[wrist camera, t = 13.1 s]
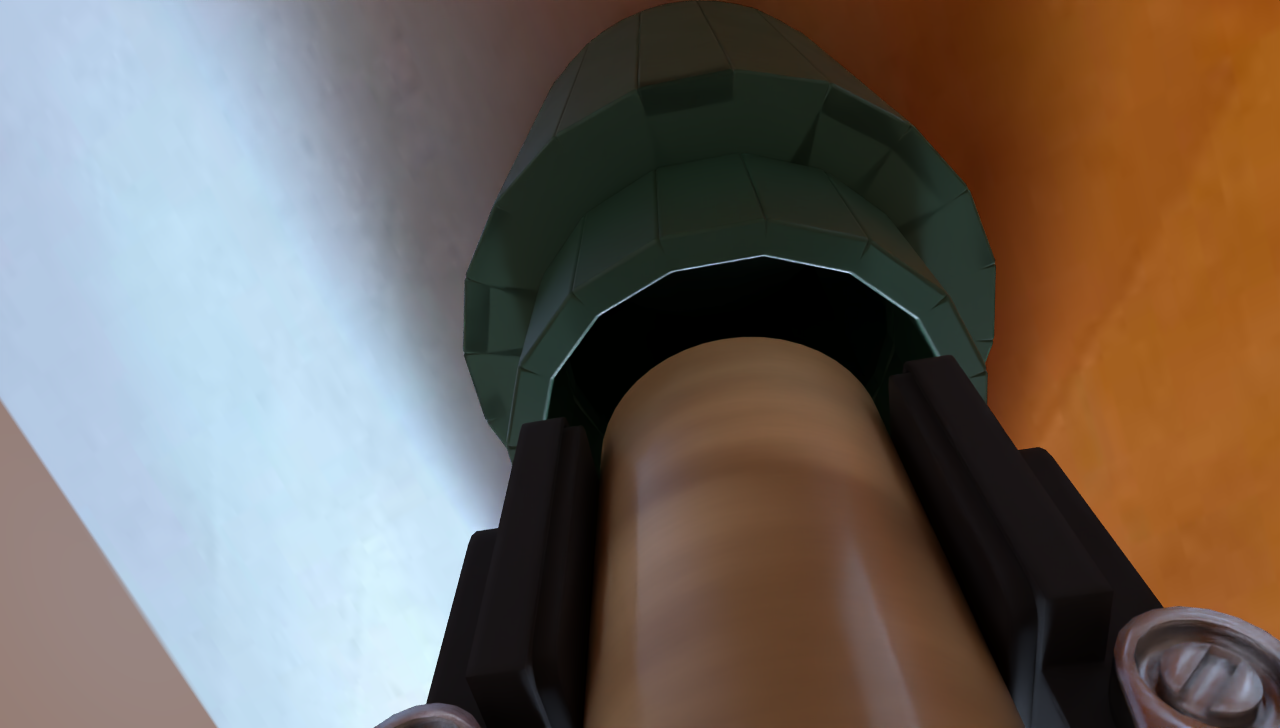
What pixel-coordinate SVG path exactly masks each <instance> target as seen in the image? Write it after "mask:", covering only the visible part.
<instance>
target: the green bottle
mask: <svg viewBox="0 0 1280 728" xmlns="http://www.w3.org/2000/svg"><path fill="white" fill-rule="evenodd" d="M995 279H996V265H995V258H994V256H993V253H992V250H991V247H990V245H989V242H988V239H987V236H986V234H985V231H984V228H983V225H982V222H981V220H980V217H979V214H978V211H977V209H976V206H975V203H974V200H973V198H972V195H971V192H970V190H969V189H968V188H967V185H966V184H965V183H964V181H963V180H962V179H961V178H960V177H959V176H958V175H957V174H956V172H955V171H954V170H953V169H952V168H951V167H950V166H949V165H948V163H947V162H946V161H945V160H944V159H943V158H942V157H941V156H940V154H939V153H938V152H937V151H936V150H935V149H934V148H933V147H932V145H931V144H930V143H929V142H928V141H927V140H926V139H925V138H924V136H923V135H922V134H921V133H920V132H919V131H918V130H917V129H916V127H915V126H914V125H912V124H911V123H910V122H909V121H908V120H906V119H905V118H904V117H903V116H901V115H900V114H899V113H898V112H897V111H895V110H894V109H893V108H892V107H891V106H889V105H888V104H887V103H886V102H885V101H883V100H882V99H881V98H880V97H879V96H877V95H876V94H875V93H874V92H873V91H871V90H870V89H869V88H868V87H867V86H865V85H864V84H863V83H862V82H861V81H859V80H858V79H857V78H856V77H855V76H853V75H852V74H851V73H850V72H849V71H847V70H846V69H845V68H844V67H843V66H841V65H840V64H839V63H838V62H837V61H835V60H834V59H833V58H832V57H830V56H829V55H828V54H827V53H826V52H824V51H823V50H822V49H821V48H820V47H818V46H817V45H816V44H815V43H814V42H812V41H811V40H810V39H809V38H808V37H806V36H805V35H804V34H803V33H801V32H799V31H797V30H795V29H793V28H791V27H789V26H788V25H786V24H785V23H783V22H782V21H780V20H778V19H776V18H774V17H771V16H769V15H767V14H765V13H763V12H761V11H759V10H757V9H754V8H752V7H745V6H742V5H738V4H733V3H726V2H720V1H701V0H698V1H692V0H691V1H683V2H676V3H668V4H664V5H661V6H657V7H654V8H650V9H646V10H644V11H641V12H639V13H636V14H634V15H632V16H630V17H628V18H625V19H623V20H621V21H620V22H618V23H616V24H615V25H613V26H612V27H610V28H608V29H607V30H605V31H603V32H602V33H601V34H600V35H598V36H597V37H596V38H594V39H593V40H591V42H590V43H588V44H587V45H586V46H585V47H584V48H583V49H582V50H581V51H580V52H579V54H578V55H577V56H576V57H575V58H574V59H573V60H572V61H571V62H570V63H569V65H568V66H567V67H566V69H565V70H564V72H563V73H562V74H561V75H560V76H559V78H558V79H557V80H556V81H555V82H554V84H553V86H552V87H551V89H550V91H549V93H548V95H547V97H546V99H545V101H544V103H543V105H542V107H541V109H540V111H539V113H538V115H537V117H536V119H535V122H534V124H533V126H532V128H531V130H530V132H529V134H528V136H527V138H526V140H525V142H524V144H523V146H522V148H521V150H520V152H519V154H518V156H517V158H516V160H515V162H514V164H513V166H512V168H511V170H510V172H509V174H508V176H507V178H506V180H505V182H504V184H503V186H502V188H501V190H500V192H499V195H498V197H497V199H496V201H495V203H494V205H493V207H492V210H491V212H490V215H489V217H488V220H487V222H486V225H485V227H484V230H483V232H482V235H481V237H480V240H479V242H478V245H477V247H476V250H475V253H474V255H473V258H472V260H471V263H470V265H469V268H468V270H467V273H466V279H465V288H464V330H463V351H464V357H465V360H466V363H467V366H468V369H469V372H470V375H471V378H472V381H473V384H474V387H475V390H476V393H477V396H478V399H479V402H480V405H481V408H482V411H483V413H484V416H485V419H486V420H487V422H488V424H489V426H490V427H491V428H492V430H493V431H494V432H495V433H496V435H497V436H498V437H499V439H500V440H501V441H502V443H503V444H504V445H505V447H506V448H507V451H508V454H509V457H510V460H511V463H512V465H513V460H514V456H515V451H516V447H517V442H518V438H519V433H520V429H521V426H522V424H524V423H529V422H535V421H541V420H547V419H553V418H560V417H565V418H566V419H567V421H568V423H569V425H570V427H573V426H579V425H582V426H583V427H584V429H585V432H586V435H587V439H588V442H589V446H590V450H591V453H592V457H593V461H594V465H595V468H596V472H597V476H598V479H599V481H600V467H601V453H602V446H603V439H604V435H605V432H606V429H607V426H608V423H609V421H610V419H611V417H612V414H613V412H614V410H615V408H616V407H617V405H618V404H619V402H620V401H621V400H622V398H623V397H624V395H625V394H626V393H627V392H628V391H629V389H630V388H631V387H632V386H633V385H634V384H635V383H636V382H637V381H638V380H639V379H640V378H641V377H643V376H644V375H645V374H646V373H647V372H648V371H650V370H651V369H652V368H654V367H655V366H657V365H658V364H660V363H661V362H663V361H664V360H666V359H667V358H669V357H671V356H673V355H675V354H678V353H680V352H682V351H684V350H686V349H689V348H692V347H695V346H697V345H700V344H703V343H707V342H712V341H716V340H721V339H728V338H737V337H766V338H774V339H782V340H786V341H790V342H794V343H798V344H801V345H804V346H806V347H809V348H812V349H814V350H817V351H819V352H821V353H823V354H825V355H827V356H828V357H830V358H832V359H834V360H835V361H837V362H838V363H839V364H841V365H842V366H843V367H845V368H846V369H848V370H849V371H850V372H851V373H852V374H853V375H854V376H855V377H856V378H857V379H858V380H859V381H860V382H861V383H862V385H863V386H864V387H865V389H866V390H867V392H868V393H869V394H870V396H871V398H872V400H873V402H874V404H875V406H876V407H877V409H878V412H879V414H880V416H881V418H882V420H883V422H884V424H885V427H886V429H887V431H888V433H889V435H890V437H891V429H890V408H889V377H890V376H891V375H897V374H902V371H903V365H904V363H905V362H906V361H912V360H919V359H925V358H931V357H937V356H943V355H952V356H953V357H954V358H955V359H956V360H957V362H958V363H959V365H960V366H961V368H962V369H963V371H964V372H965V374H966V375H967V377H968V378H969V379H970V381H971V382H972V384H973V385H974V387H975V388H976V390H977V391H978V393H979V394H980V396H981V397H982V398H983V400H984V401H985V403H986V404H987V379H988V373H987V371H986V365H985V362H986V360H987V357H988V354H989V352H990V349H991V347H992V344H993V338H994V322H995Z"/></svg>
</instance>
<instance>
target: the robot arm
mask: <svg viewBox="0 0 1280 728" xmlns="http://www.w3.org/2000/svg"><path fill="white" fill-rule="evenodd" d="M889 408H890V429H891V439H892V442H893V444H894V446H895V448H896V450H897V452H898V454H899V457H900V459H901V461H902V463H903V465H904V467H905V470H906V472H907V474H908V476H909V478H910V480H911V482H912V485H913V487H914V489H915V491H916V493H917V495H918V497H919V500H920V502H921V504H922V506H923V508H924V510H925V512H926V515H927V517H928V519H929V521H930V523H931V525H932V527H933V530H934V532H935V534H936V536H937V538H938V540H939V542H940V545H941V547H942V549H943V551H944V553H945V555H946V558H947V560H948V562H949V564H950V566H951V568H952V570H953V573H954V575H955V577H956V579H957V581H958V583H959V585H960V588H961V590H962V592H963V594H964V596H965V598H966V600H967V603H968V605H969V607H970V609H971V611H972V613H973V615H974V618H975V620H976V622H977V624H978V626H979V628H980V630H981V633H982V635H983V637H984V639H985V641H986V643H987V645H988V648H989V650H990V652H991V654H992V656H993V658H994V661H995V663H996V665H997V667H998V669H999V671H1000V673H1001V676H1002V678H1003V680H1004V682H1005V684H1006V686H1007V688H1008V691H1009V693H1010V695H1011V697H1012V699H1013V701H1014V703H1015V706H1016V708H1017V710H1018V712H1019V714H1020V716H1021V718H1022V721H1023V723H1024V725H1025V727H1026V728H1280V641H1279V640H1277V639H1276V638H1275V637H1273V636H1272V635H1271V634H1269V633H1268V632H1266V631H1264V630H1262V629H1260V628H1258V627H1256V626H1254V625H1252V624H1250V623H1248V622H1246V621H1244V620H1242V619H1240V618H1237V617H1234V616H1230V615H1227V614H1224V613H1220V612H1217V611H1213V610H1210V609H1202V608H1192V607H1182V606H1176V607H1168V608H1164V607H1163V606H1162V605H1161V603H1160V602H1159V601H1158V599H1157V598H1156V597H1155V595H1154V594H1153V593H1152V591H1151V590H1150V588H1149V587H1148V586H1147V584H1146V583H1145V582H1144V580H1143V579H1142V578H1141V576H1140V575H1139V574H1138V572H1137V571H1136V569H1135V568H1134V567H1133V565H1132V564H1131V563H1130V561H1129V560H1128V559H1127V557H1126V556H1125V555H1124V553H1123V552H1122V550H1121V549H1120V548H1119V546H1118V545H1117V544H1116V542H1115V541H1114V540H1113V538H1112V537H1111V536H1110V534H1109V533H1108V532H1107V530H1106V529H1105V527H1104V526H1103V525H1102V523H1101V522H1100V521H1099V519H1098V518H1097V517H1096V515H1095V514H1094V513H1093V511H1092V510H1091V508H1090V507H1089V506H1088V504H1087V503H1086V502H1085V500H1084V499H1083V498H1082V496H1081V495H1080V494H1079V492H1078V491H1077V489H1076V488H1075V487H1074V485H1073V484H1072V483H1071V481H1070V480H1069V479H1068V477H1067V476H1066V475H1065V473H1064V472H1063V470H1062V469H1061V468H1060V466H1059V465H1058V464H1057V462H1056V461H1055V460H1054V458H1053V457H1052V456H1051V455H1050V454H1049V453H1048V452H1047V451H1046V450H1045V449H1042V448H1040V447H1036V448H1030V449H1023V450H1017V448H1016V447H1015V445H1014V444H1013V442H1012V441H1011V439H1010V438H1009V437H1008V435H1007V434H1006V432H1005V431H1004V429H1003V428H1002V426H1001V425H1000V423H999V422H998V420H997V419H996V417H995V416H994V415H993V413H992V412H991V410H990V409H989V407H988V406H987V404H986V403H985V401H984V400H983V398H982V397H981V396H980V394H979V393H978V391H977V390H976V388H975V387H974V385H973V384H972V382H971V381H970V379H969V378H968V377H967V375H966V374H965V372H964V371H963V369H962V368H961V366H960V365H959V363H958V362H957V360H956V359H955V358H954V357H953V356H952V355H943V356H937V357H931V358H925V359H919V360H912V361H906V362H905V363H904V365H903V371H902V374H897V375H891V376H890V377H889ZM598 496H599V479H598V476H597V472H596V468H595V465H594V461H593V457H592V453H591V450H590V446H589V442H588V439H587V435H586V432H585V429H584V427H583V426H582V425H579V426H573V427H570V425H569V423H568V421H567V419H566V418H565V417H560V418H553V419H547V420H541V421H535V422H529V423H524V424H522V426H521V429H520V433H519V438H518V442H517V447H516V451H515V456H514V460H513V465H512V469H511V474H510V478H509V483H508V487H507V491H506V496H505V500H504V505H503V509H502V514H501V518H500V523H499V527H498V528H496V529H489V530H483V531H476V532H475V533H474V534H473V535H472V536H471V539H470V541H469V544H468V548H467V551H466V555H465V559H464V563H463V566H462V570H461V574H460V578H459V582H458V585H457V589H456V593H455V597H454V601H453V604H452V608H451V612H450V616H449V619H448V623H447V627H446V631H445V635H444V638H443V642H442V646H441V650H440V654H439V657H438V661H437V665H436V669H435V672H434V676H433V680H432V684H431V688H430V691H429V695H428V699H427V703H426V704H425V705H418V706H414V707H411V708H409V709H407V710H404V711H402V712H399V713H397V714H394V715H392V716H391V717H389V718H388V719H386V720H385V721H383V722H382V723H380V724H379V725H377V726H376V727H374V728H583V717H584V702H585V687H586V673H587V658H588V643H589V629H590V614H591V599H592V584H593V570H594V555H595V540H596V526H597V511H598Z"/></svg>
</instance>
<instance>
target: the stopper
mask: <svg viewBox="0 0 1280 728" xmlns="http://www.w3.org/2000/svg"><path fill="white" fill-rule="evenodd" d="M583 728H1026V727H1025V725H1024V723H1023V721H1022V718H1021V716H1020V714H1019V712H1018V710H1017V708H1016V706H1015V703H1014V701H1013V699H1012V697H1011V695H1010V693H1009V691H1008V688H1007V686H1006V684H1005V682H1004V680H1003V678H1002V676H1001V673H1000V671H999V669H998V667H997V665H996V663H995V661H994V658H993V656H992V654H991V652H990V650H989V648H988V645H987V643H986V641H985V639H984V637H983V635H982V633H981V630H980V628H979V626H978V624H977V622H976V620H975V618H974V615H973V613H972V611H971V609H970V607H969V605H968V603H967V600H966V598H965V596H964V594H963V592H962V590H961V588H960V585H959V583H958V581H957V579H956V577H955V575H954V573H953V570H952V568H951V566H950V564H949V562H948V560H947V558H946V555H945V553H944V551H943V549H942V547H941V545H940V542H939V540H938V538H937V536H936V534H935V532H934V530H933V527H932V525H931V523H930V521H929V519H928V517H927V515H926V512H925V510H924V508H923V506H922V504H921V502H920V500H919V497H918V495H917V493H916V491H915V489H914V487H913V485H912V482H911V480H910V478H909V476H908V474H907V472H906V470H905V467H904V465H903V463H902V461H901V459H900V457H899V454H898V452H897V450H896V448H895V446H894V444H893V442H892V439H891V437H890V435H889V433H888V431H887V429H886V427H885V424H884V422H883V420H882V418H881V416H880V414H879V412H878V409H877V407H876V406H875V404H874V402H873V400H872V398H871V396H870V394H869V393H868V392H867V390H866V389H865V387H864V386H863V385H862V383H861V382H860V381H859V380H858V379H857V378H856V377H855V376H854V375H853V374H852V373H851V372H850V371H849V370H848V369H846V368H845V367H843V366H842V365H841V364H839V363H838V362H837V361H835V360H834V359H832V358H830V357H828V356H827V355H825V354H823V353H821V352H819V351H817V350H814V349H812V348H809V347H806V346H804V345H801V344H798V343H794V342H790V341H786V340H782V339H774V338H766V337H737V338H728V339H721V340H716V341H712V342H707V343H703V344H700V345H697V346H695V347H692V348H689V349H686V350H684V351H682V352H680V353H678V354H675V355H673V356H671V357H669V358H667V359H666V360H664V361H663V362H661V363H660V364H658V365H657V366H655V367H654V368H652V369H651V370H650V371H648V372H647V373H646V374H645V375H644V376H643V377H641V378H640V379H639V380H638V381H637V382H636V383H635V384H634V385H633V386H632V387H631V388H630V389H629V391H628V392H627V393H626V394H625V395H624V397H623V398H622V400H621V401H620V402H619V404H618V405H617V407H616V408H615V410H614V412H613V414H612V417H611V419H610V421H609V423H608V426H607V429H606V432H605V435H604V439H603V446H602V453H601V467H600V481H599V496H598V511H597V526H596V540H595V555H594V570H593V584H592V599H591V614H590V629H589V643H588V658H587V673H586V687H585V702H584V717H583Z"/></svg>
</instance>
